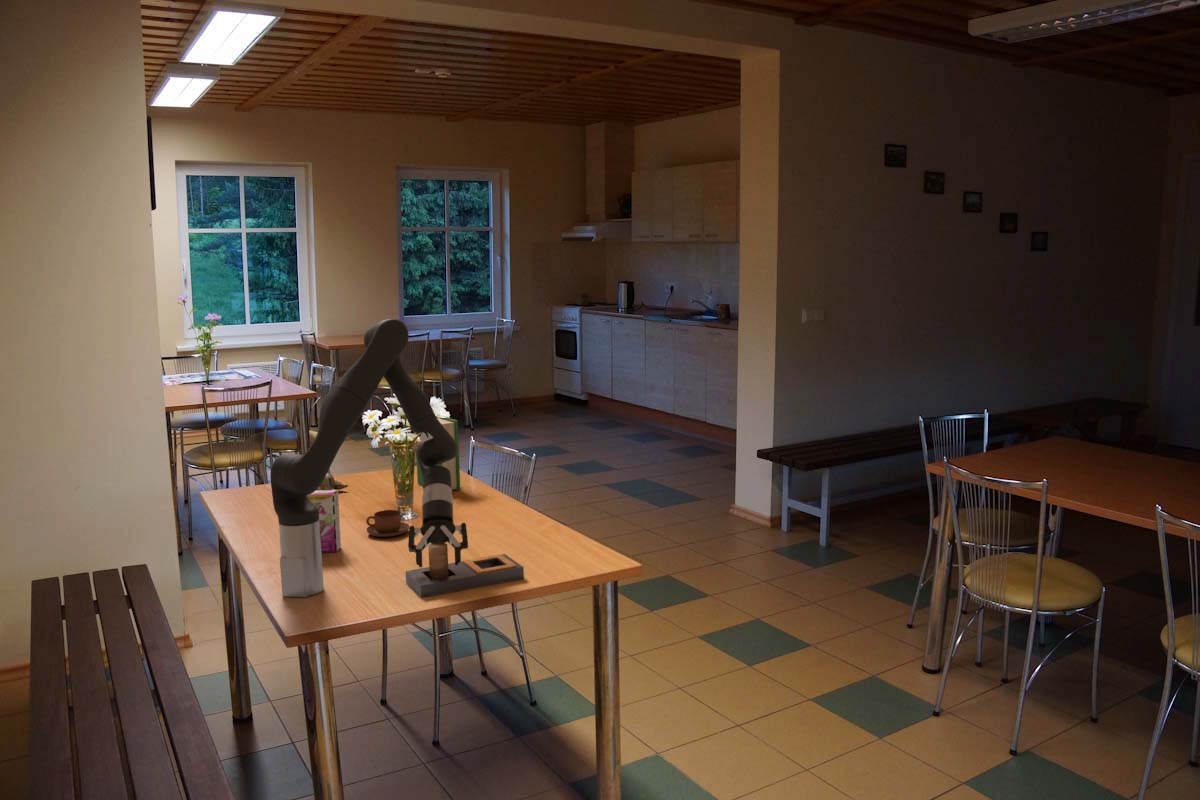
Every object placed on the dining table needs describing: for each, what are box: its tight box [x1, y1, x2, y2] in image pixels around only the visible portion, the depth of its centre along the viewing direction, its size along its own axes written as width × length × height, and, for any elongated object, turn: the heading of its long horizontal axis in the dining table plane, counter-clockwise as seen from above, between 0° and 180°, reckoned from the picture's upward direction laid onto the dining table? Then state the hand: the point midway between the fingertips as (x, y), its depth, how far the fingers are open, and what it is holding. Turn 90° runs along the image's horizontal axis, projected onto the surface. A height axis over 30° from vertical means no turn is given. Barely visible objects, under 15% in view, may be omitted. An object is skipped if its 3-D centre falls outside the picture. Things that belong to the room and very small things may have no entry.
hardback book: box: [415, 417, 461, 492], centre depth 330 cm, size 18×7×24 cm, turn 36°
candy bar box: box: [307, 489, 342, 554], centre depth 262 cm, size 11×5×16 cm, turn 92°
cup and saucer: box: [365, 509, 410, 538], centre depth 278 cm, size 12×12×6 cm
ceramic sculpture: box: [316, 471, 349, 491], centre depth 327 cm, size 11×9×15 cm
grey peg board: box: [405, 553, 525, 599], centre depth 236 cm, size 26×12×3 cm, turn 118°
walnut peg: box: [427, 542, 449, 580], centre depth 233 cm, size 4×4×10 cm
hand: (438, 564), depth 232 cm, fingers open, 8 cm apart
